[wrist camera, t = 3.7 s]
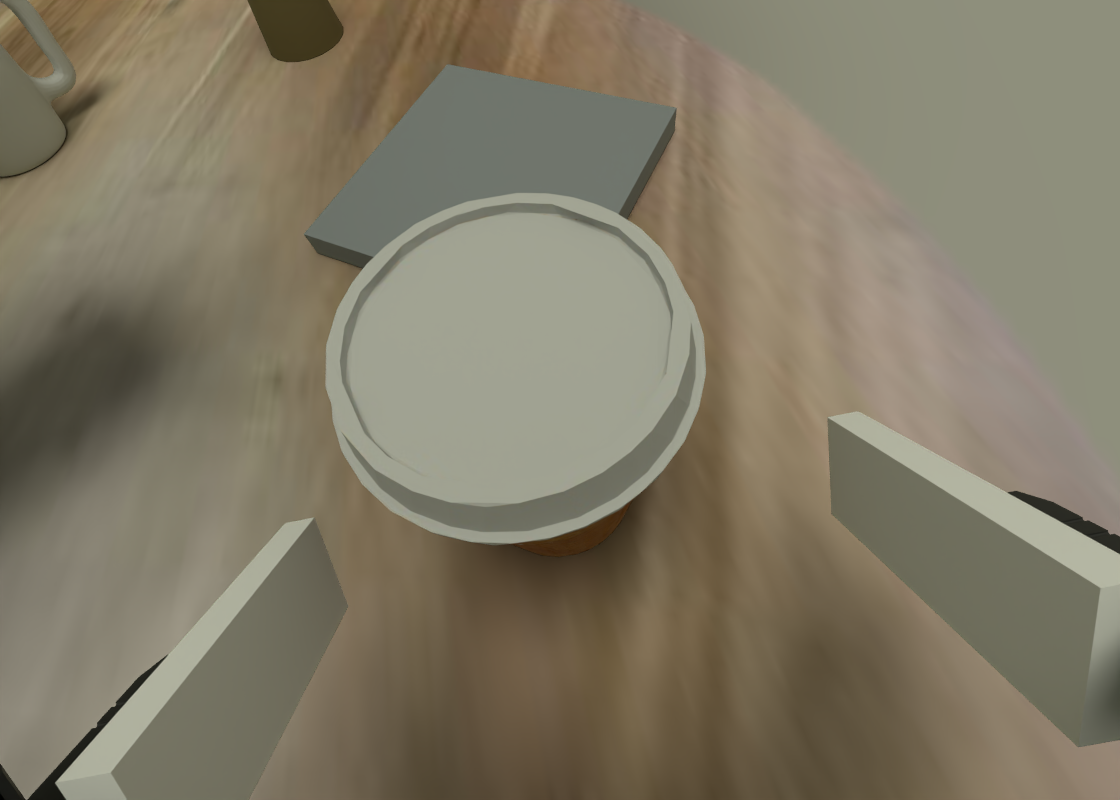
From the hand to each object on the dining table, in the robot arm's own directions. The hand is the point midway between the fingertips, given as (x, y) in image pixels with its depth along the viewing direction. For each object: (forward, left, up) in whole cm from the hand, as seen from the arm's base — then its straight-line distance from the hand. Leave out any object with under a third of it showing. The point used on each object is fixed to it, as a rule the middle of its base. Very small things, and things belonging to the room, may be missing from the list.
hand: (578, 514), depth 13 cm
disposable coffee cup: (-3, +3, -9) cm, 10 cm away
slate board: (-14, +18, -9) cm, 24 cm away
